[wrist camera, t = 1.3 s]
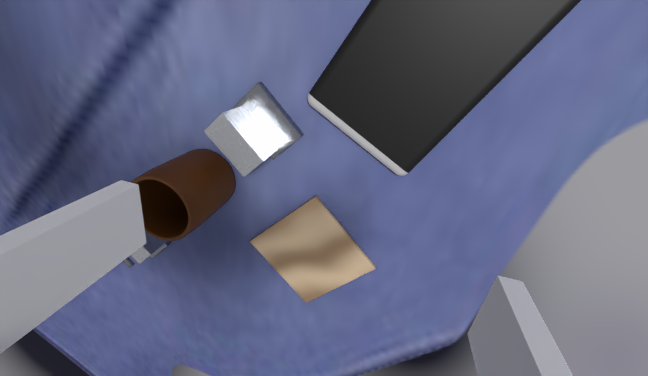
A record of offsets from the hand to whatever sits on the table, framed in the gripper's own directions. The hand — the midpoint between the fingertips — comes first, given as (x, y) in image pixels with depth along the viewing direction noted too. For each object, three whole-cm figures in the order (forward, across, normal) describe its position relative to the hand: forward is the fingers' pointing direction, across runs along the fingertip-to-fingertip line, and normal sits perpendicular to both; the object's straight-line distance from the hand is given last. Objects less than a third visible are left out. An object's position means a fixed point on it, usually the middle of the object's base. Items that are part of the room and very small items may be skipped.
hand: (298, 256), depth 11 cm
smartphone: (+24, +6, +10) cm, 26 cm away
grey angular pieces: (+23, -19, -12) cm, 32 cm away
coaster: (+23, -3, -18) cm, 29 cm away
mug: (+23, -19, -12) cm, 32 cm away
